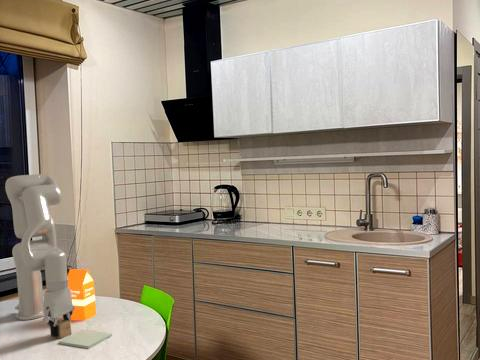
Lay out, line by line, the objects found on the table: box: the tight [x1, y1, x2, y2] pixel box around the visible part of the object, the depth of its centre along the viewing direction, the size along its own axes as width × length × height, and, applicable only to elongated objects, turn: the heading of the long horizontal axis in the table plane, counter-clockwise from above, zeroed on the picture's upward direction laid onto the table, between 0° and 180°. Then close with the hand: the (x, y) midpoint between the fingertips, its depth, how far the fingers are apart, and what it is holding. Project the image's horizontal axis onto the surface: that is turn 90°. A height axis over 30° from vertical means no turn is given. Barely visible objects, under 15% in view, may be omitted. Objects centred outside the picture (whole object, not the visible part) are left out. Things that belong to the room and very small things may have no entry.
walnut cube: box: [49, 319, 72, 340], centre depth 181 cm, size 5×5×5 cm
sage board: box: [58, 329, 113, 349], centre depth 176 cm, size 14×12×1 cm
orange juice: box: [67, 268, 97, 322], centre depth 201 cm, size 8×9×20 cm
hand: (60, 332), depth 181 cm, fingers closed on walnut cube, 5 cm apart
